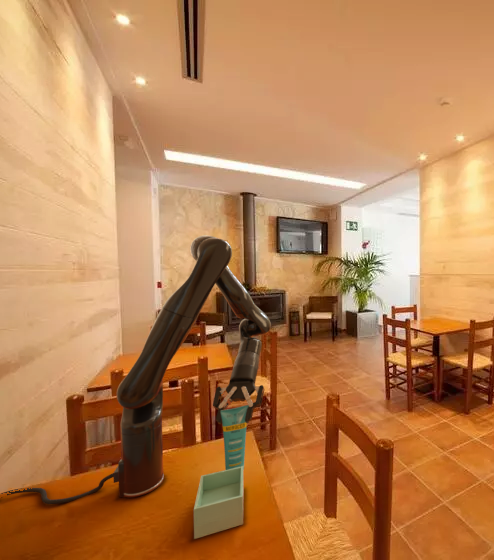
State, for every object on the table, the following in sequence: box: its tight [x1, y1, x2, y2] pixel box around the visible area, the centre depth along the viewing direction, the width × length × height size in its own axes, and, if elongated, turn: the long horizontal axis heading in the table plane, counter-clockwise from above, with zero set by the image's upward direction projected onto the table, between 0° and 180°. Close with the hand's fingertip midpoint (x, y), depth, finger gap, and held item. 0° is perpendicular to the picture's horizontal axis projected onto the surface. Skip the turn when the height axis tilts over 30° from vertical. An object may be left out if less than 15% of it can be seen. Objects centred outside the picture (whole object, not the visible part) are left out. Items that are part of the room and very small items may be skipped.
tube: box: [220, 404, 249, 471], centre depth 88 cm, size 7×5×19 cm, turn 124°
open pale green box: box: [193, 466, 245, 540], centre depth 76 cm, size 10×12×7 cm
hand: (233, 422), depth 86 cm, fingers closed on tube, 7 cm apart
